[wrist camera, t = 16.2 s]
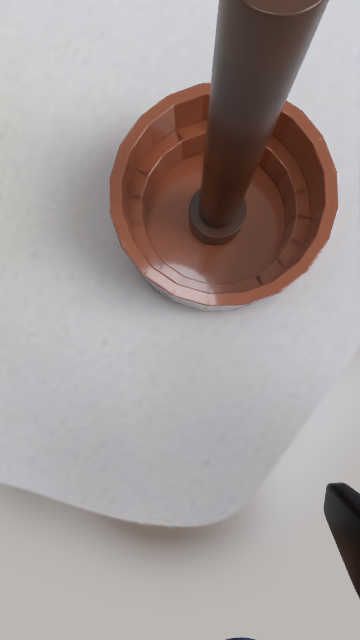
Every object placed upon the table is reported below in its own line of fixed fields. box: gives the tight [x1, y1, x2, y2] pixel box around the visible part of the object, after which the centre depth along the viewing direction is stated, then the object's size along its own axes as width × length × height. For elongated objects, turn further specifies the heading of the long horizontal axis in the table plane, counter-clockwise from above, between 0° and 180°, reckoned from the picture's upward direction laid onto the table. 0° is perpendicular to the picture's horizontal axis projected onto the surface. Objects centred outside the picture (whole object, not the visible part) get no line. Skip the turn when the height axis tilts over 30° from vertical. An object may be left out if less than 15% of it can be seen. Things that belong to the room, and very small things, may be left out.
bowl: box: [110, 83, 338, 311], centre depth 18 cm, size 12×12×4 cm
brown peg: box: [189, 0, 329, 245], centre depth 13 cm, size 4×4×14 cm
